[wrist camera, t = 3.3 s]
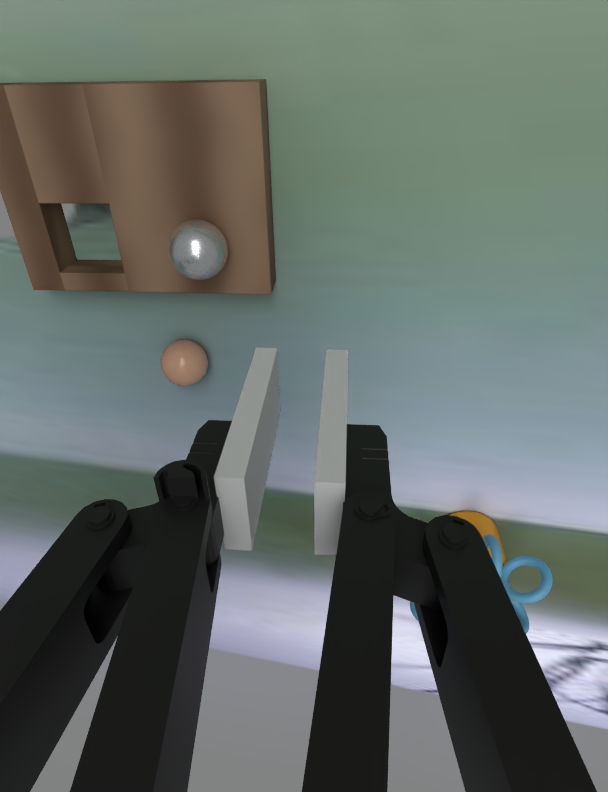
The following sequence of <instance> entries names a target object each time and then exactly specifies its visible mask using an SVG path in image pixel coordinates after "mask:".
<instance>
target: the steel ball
mask: <svg viewBox="0 0 608 792" xmlns="http://www.w3.org/2000/svg"><path fill="white" fill-rule="evenodd" d="M168 250H169V256H170V259H171V261H172V263H173V265H174V267H175V268H176V269H177V270H178V271H179V272H180V273H181V274H183V275H184V276H186V277H188V278H191V279H195V280H204V279H208V278H211V277H213V276H215V275H216V274H218V273H219V272H220V271H221V269H222V268H223V266H224V265H225V262H226V260H227V254H228V248H227V243H226V240H225V238H224V236H223V234H222V233H221V231H220V230H219V229H218V228H217V227H216V226H215V225H213V224H211V223H209V222H207V221H204V220H198V219H195V220H189V221H186V222H184V223H182V224H180V225H179V226H178V227H177V228H176V229H175V230H174V231H173V233H172V235H171V237H170V240H169V245H168Z"/></svg>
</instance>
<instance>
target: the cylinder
mask: <svg viewBox="0 0 608 792" xmlns="http://www.w3.org/2000/svg"><path fill="white" fill-rule="evenodd" d="M450 516H457V517H460V518H463V519H465V520H467V521H468V522H470V523H471V524H473V525H474V526H475V527H476V528H477V530H478V531H479V533H480V534H481V536H482V538H483V541H484V543H485V545H486V547H487V549H488V552H489V554H490V556H491V558H492V560H493V563H494V565H495V567H496V569H497V572H498V574H499V576H500V578H501V580H502V583H503V585H504V587H505V589H506V591H507V594H508V596H509V598H510V600H511V603H512V605H513V607H514V609H515V611H516V613H517V615H518V618H519V620H520V622H521V625H522V627H523V629H524V631H525V634H526V633H527V632H528V630H529V620H528V616H527V614H526V611H525V609H524V607H523V606H522V604H521V603H524V604H528V603H534V602H537V601H539V600H541V599H543V598H544V597H545V596H546V595H547V594H548V593H549V591H550V589H551V587H552V582H553V578H552V573H551V571H550V569H549V567H548V566H547V565H546V564H545V563H544V562H543V561H541V560H540V559H538V558H535V557H532V556H518V557H515V558H512V559H511V560H509V561H507V560H506V556H505V553H504V549H503V546H502V543H501V539H500V536H499V532H498V529H497V526H496V524H495V523H494V522H493V520H492V519H490V518H489V517H488V516H486V515H484V514H482V513H479V512H473V511H461V512H456V513H452V514H450ZM523 565H529V566H533V567H535V568H537V569H538V570H539V571H540V573H541V575H542V582H541V584H540V586H539V587H538V588H537V589H536V590H534V591H532V592H530V593H519V592H516V591H514V590H513V589H512V588H511V587H510V586H509V583H508V577H509V574H510V573H511V572H512V570H514V569H515V568H517V567H519V566H523ZM410 608H411V612H412V614H413V616H414V617H415V618H416V619H417V620H418V616H417V613H416V609H415V605H414V602H411V601H410ZM418 621H419V620H418Z"/></svg>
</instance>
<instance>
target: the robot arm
mask: <svg viewBox="0 0 608 792" xmlns="http://www.w3.org/2000/svg"><path fill="white" fill-rule="evenodd" d="M347 387H348V350H329V349H326V360H325V371H324V382H323V393H322V404H321V415H320V426H319V437H318V447H317V458H316V469H315V480H314V512H315V554H317V555H334V556H336V560H335V567H334V574H333V581H332V588H331V595H330V602H329V608H328V615H327V622H326V629H325V636H324V643H323V650H322V657H321V664H320V670H319V678H318V684H317V691H316V698H315V705H314V712H313V719H312V726H311V733H310V739H309V746H308V753H307V760H306V767H305V774H304V781H303V787H302V792H387V781H388V749H389V716H390V685H391V653H392V620H393V595H395V596H398V597H400V598H403V599H406V600H408V601H411V602H414V605H415V609H416V613H417V616H418V620H419V624H420V627H421V631H422V634H423V638H424V642H425V645H426V649H427V653H428V656H429V660H430V664H431V667H432V671H433V674H434V678H435V682H436V685H437V689H438V693H439V696H440V700H441V703H442V707H443V711H444V715H445V718H446V722H447V725H448V729H449V733H450V736H451V740H452V743H453V747H454V751H455V754H456V758H457V762H458V765H459V769H460V773H461V776H462V780H463V783H464V787H465V791H466V792H597V791H596V789H595V786H594V784H593V782H592V780H591V778H590V775H589V773H588V771H587V769H586V767H585V764H584V762H583V760H582V758H581V756H580V754H579V751H578V749H577V747H576V744H575V742H574V740H573V738H572V736H571V733H570V731H569V729H568V727H567V724H566V722H565V720H564V718H563V716H562V713H561V711H560V709H559V707H558V704H557V702H556V700H555V698H554V696H553V693H552V691H551V689H550V687H549V685H548V682H547V680H546V678H545V676H544V673H543V671H542V669H541V667H540V665H539V662H538V660H537V658H536V656H535V654H534V651H533V649H532V647H531V645H530V642H529V640H528V638H527V636H526V634H525V631H524V629H523V627H522V625H521V622H520V620H519V618H518V616H517V614H516V611H515V609H514V607H513V605H512V603H511V600H510V598H509V596H508V594H507V591H506V589H505V587H504V585H503V583H502V580H501V578H500V576H499V574H498V572H497V569H496V567H495V565H494V563H493V560H492V558H491V556H490V554H489V552H488V549H487V547H486V545H485V543H484V541H483V538H482V536H481V534H480V533H479V531H478V530H477V528H476V527H475V526H474V525H473V524H471V523H470V522H468V521H467V520H465V519H463V518H460V517H457V516H450V515H443V516H439V517H435V518H434V519H433V520H431V521H430V522H429V523H426V522H423V521H420V520H417V519H414V518H412V517H409V516H407V515H406V514H404V513H403V512H401V511H400V510H399V509H398V508H397V507H396V505H395V504H394V502H393V499H392V495H391V484H390V472H389V461H388V451H387V449H388V448H387V436H386V435H385V434H384V432H383V431H382V429H381V428H380V426H378V425H351V424H347ZM280 411H281V409H280V389H279V370H278V350H277V348H256V349H255V352H254V356H253V359H252V362H251V365H250V368H249V371H248V374H247V377H246V380H245V383H244V386H243V389H242V392H241V395H240V398H239V401H238V405H237V408H236V411H235V414H234V417H233V420H232V421H218V420H208V421H207V422H206V423H205V424H204V425H203V426H202V427H201V428H200V429H199V430H198V432H197V434H196V437H195V439H194V443H193V444H192V447H191V449H190V453H189V454H188V456H187V459H186V460H181V461H174V462H172V463H170V464H167V465H165V466H164V467H162V468H161V469H160V470H159V471H158V472H157V473H156V475H155V477H154V481H155V485H156V489H157V493H158V497H159V502H157V503H155V504H153V505H149V506H146V507H141V508H136V509H131V510H127V508H126V507H125V505H124V504H123V503H122V502H119V501H117V500H111V499H104V500H100V501H96V502H93V503H92V504H90V505H88V506H86V507H84V508H83V509H82V510H81V511H80V512H79V513H78V514H77V515H76V516H75V517H74V519H73V520H72V521H71V522H70V524H69V525H68V526H67V528H66V529H65V530H64V531H63V533H62V534H61V535H60V536H59V538H58V539H57V540H56V541H55V543H54V544H53V545H52V546H51V548H50V549H49V550H48V551H47V553H46V554H45V555H44V556H43V558H42V559H41V560H40V562H39V563H38V564H37V565H36V567H35V568H34V569H33V570H32V572H31V573H30V574H29V575H28V577H27V578H26V579H25V580H24V582H23V583H22V584H21V585H20V587H19V588H18V589H17V590H16V592H15V593H14V594H13V596H12V597H11V598H10V599H9V601H8V602H7V603H6V604H5V606H4V607H3V608H2V610H1V611H0V792H30V791H31V789H32V787H33V785H34V784H35V782H36V780H37V778H38V776H39V775H40V773H41V771H42V769H43V768H44V766H45V764H46V762H47V760H48V759H49V757H50V755H51V753H52V751H53V750H54V748H55V746H56V744H57V743H58V741H59V739H60V737H61V735H62V734H63V732H64V730H65V728H66V727H67V725H68V723H69V721H70V719H71V718H72V716H73V714H74V712H75V711H76V709H77V707H78V705H79V704H80V702H81V700H82V698H83V696H84V695H85V693H86V691H87V689H88V688H89V686H90V684H91V682H92V680H93V679H94V677H95V675H96V673H97V672H98V670H99V668H100V666H101V664H102V662H103V661H104V659H105V657H106V655H107V654H108V652H109V650H110V648H111V647H112V645H113V643H114V641H115V639H116V638H117V636H118V638H117V641H116V644H115V647H114V650H113V654H112V657H111V660H110V663H109V667H108V670H107V673H106V677H105V680H104V683H103V686H102V689H101V693H100V696H99V699H98V703H97V706H96V709H95V712H94V715H93V719H92V722H91V726H90V728H89V732H88V735H87V738H86V741H85V745H84V748H83V751H82V754H81V758H80V761H79V764H78V767H77V771H76V774H75V777H74V780H73V784H72V787H71V790H70V792H187V789H188V782H189V776H190V769H191V762H192V755H193V748H194V743H195V736H196V729H197V723H198V716H199V709H200V703H201V695H202V689H203V682H204V676H205V669H206V662H207V656H208V650H209V643H210V636H211V630H212V623H213V616H214V610H215V603H216V596H217V590H218V583H219V577H220V570H221V557H220V549H221V545H222V541H223V538H224V545H225V549H230V550H247V551H252V549H253V545H254V540H255V535H256V530H257V525H258V520H259V515H260V510H261V505H262V500H263V495H264V490H265V485H266V480H267V475H268V470H269V465H270V461H271V456H272V451H273V446H274V441H275V436H276V431H277V426H278V421H279V416H280Z"/></svg>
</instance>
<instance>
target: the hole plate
mask: <svg viewBox="0 0 608 792" xmlns="http://www.w3.org/2000/svg"><path fill="white" fill-rule="evenodd" d="M0 191H1V194H2V197H3V200H4V203H5V206H6V208H7V212H8V215H9V218H10V221H11V224H12V227H13V230H14V233H15V236H16V239H17V242H18V244H19V247H20V250H21V253H22V256H23V259H24V262H25V265H26V268H27V271H28V274H29V277H30V280H31V283H32V286H33V289H34V290H76V291H130V292H184V293H238V294H271V293H272V290H273V287H274V284H275V281H276V273H275V253H274V232H273V212H272V192H271V171H270V151H269V131H268V110H267V90H266V79H264V80H192V81H120V82H48V83H0ZM61 203H104V204H109V206H110V210H111V215H112V219H113V224H114V228H115V233H116V237H117V241H118V246H119V250H120V255H121V259H122V261H117V260H76V256H75V252H74V249H73V245H72V242H71V238H70V234H69V231H68V227H67V223H66V220H65V216H64V213H63V209H62V205H61ZM195 219H198V220H204V221H207V222H209V223H211V224H213V225H215V226H216V227H217V228H218V229H219V230H220V231H221V233H222V234H223V236H224V238H225V240H226V243H227V248H228V254H227V260H226V262H225V265H224V266H223V268H222V269H221V271H220V272H219V273H218V274H216V275H215V276H213V277H211V278H208V279H204V280H195V279H191V278H188V277H186V276H184V275H183V274H181V273H180V272H179V271H178V270H177V269H176V268H175V267H174V265H173V263H172V261H171V259H170V256H169V250H168V245H169V240H170V237H171V235H172V233H173V231H174V230H175V229H176V228H177V227H178V226H179V225H180V224H182V223H184V222H186V221H189V220H195Z"/></svg>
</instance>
